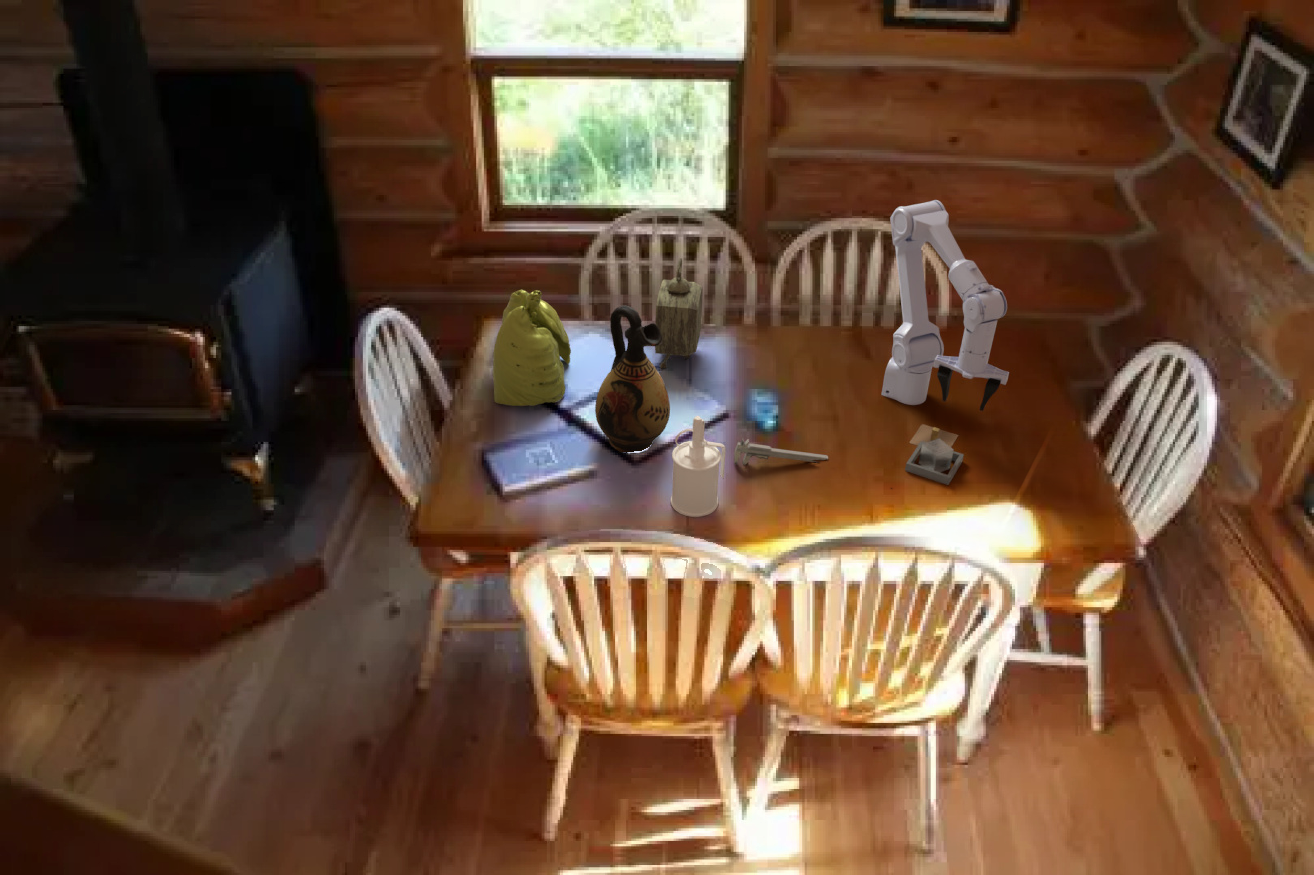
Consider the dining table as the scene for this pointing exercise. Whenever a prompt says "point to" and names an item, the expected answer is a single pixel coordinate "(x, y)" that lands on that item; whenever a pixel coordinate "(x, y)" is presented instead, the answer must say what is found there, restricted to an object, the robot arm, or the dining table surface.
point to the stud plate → (933, 435)
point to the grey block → (936, 455)
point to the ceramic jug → (632, 387)
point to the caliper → (771, 453)
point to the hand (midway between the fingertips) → (963, 403)
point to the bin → (931, 473)
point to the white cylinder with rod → (696, 473)
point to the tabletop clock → (678, 316)
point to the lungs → (529, 353)
